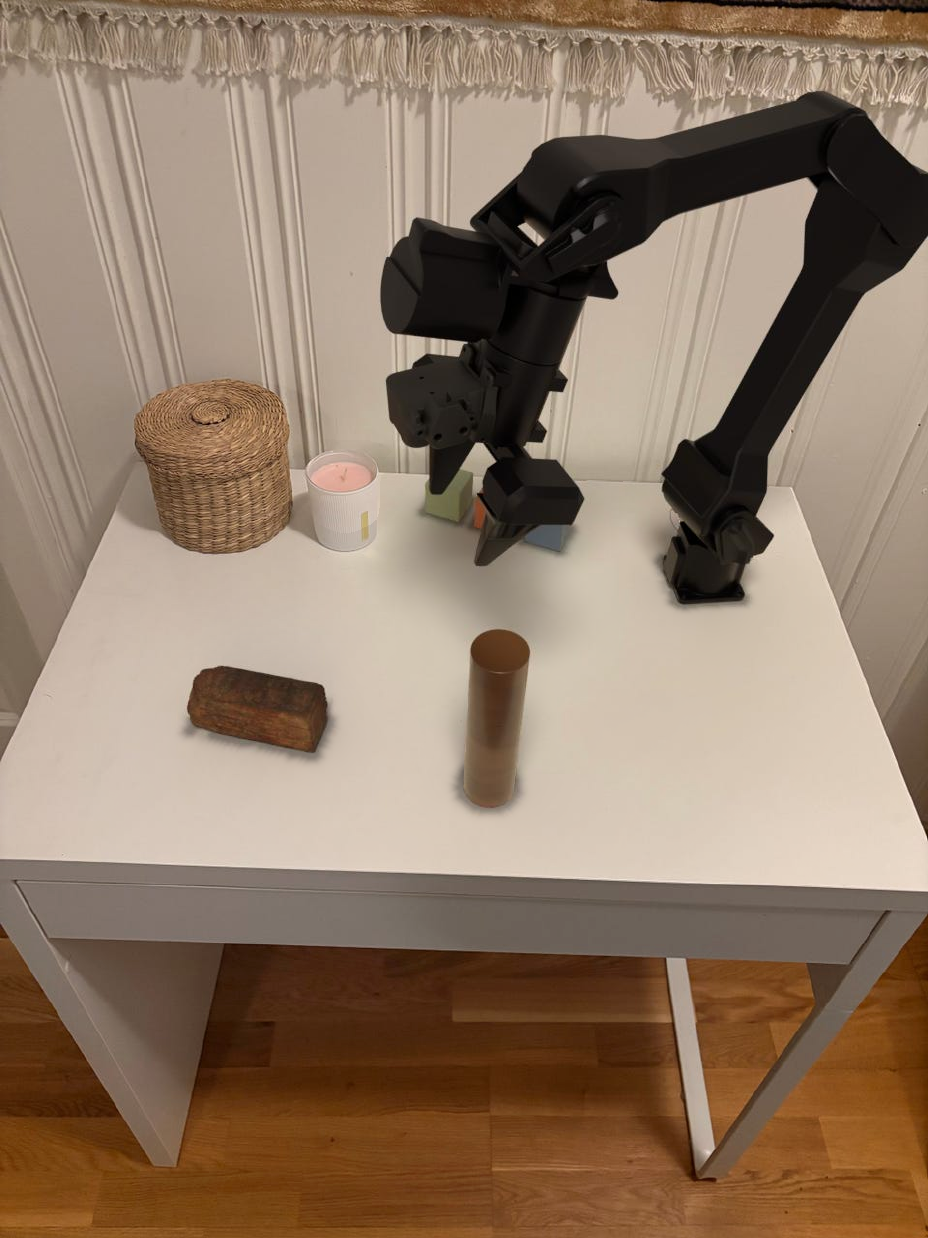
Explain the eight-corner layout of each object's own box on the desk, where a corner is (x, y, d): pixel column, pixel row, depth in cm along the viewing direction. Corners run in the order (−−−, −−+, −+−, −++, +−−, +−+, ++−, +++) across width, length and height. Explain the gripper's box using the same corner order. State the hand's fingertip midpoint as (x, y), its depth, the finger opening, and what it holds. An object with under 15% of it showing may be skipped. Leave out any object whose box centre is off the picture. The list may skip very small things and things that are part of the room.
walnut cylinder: (485, 756, 75) (496, 620, 64) (524, 784, 73) (542, 649, 62) (452, 787, 73) (457, 651, 62) (491, 817, 71) (504, 682, 60)
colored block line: (571, 529, 95) (575, 500, 93) (559, 551, 93) (563, 522, 90) (439, 492, 99) (439, 463, 96) (424, 512, 97) (424, 483, 94)
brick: (330, 717, 77) (325, 681, 74) (314, 755, 75) (308, 719, 71) (211, 694, 79) (201, 657, 76) (191, 730, 76) (180, 693, 73)
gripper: (370, 270, 65) (325, 457, 75) (474, 409, 53) (404, 611, 63) (505, 289, 71) (447, 462, 80) (626, 420, 59) (541, 605, 68)
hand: (456, 527), depth 73 cm, fingers open, 9 cm apart
